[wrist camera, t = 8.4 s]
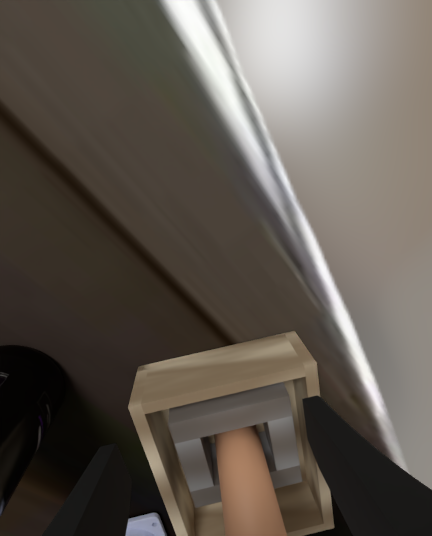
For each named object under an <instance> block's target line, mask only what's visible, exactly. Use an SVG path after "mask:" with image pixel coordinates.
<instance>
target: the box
mask: <svg viewBox="0 0 432 536" xmlns="http://www.w3.org/2000/svg"><path fill="white" fill-rule="evenodd" d="M317 395H318V396H320V390H319V380H318V371H317V363H316V361H315V360H314V359H313V357H312V356H311V354H310V353H309V351H308V350H307V348H306V347H305V345H304V344H303V343H302V341H301V340H300V338H299V337H298V335H297V334H296V332H295V331H291V332H287V333H282V334H278V335H274V336H269V337H265V338H261V339H256V340H252V341H247V342H243V343H239V344H234V345H230V346H226V347H221V348H217V349H213V350H208V351H204V352H200V353H195V354H191V355H187V356H182V357H178V358H174V359H169V360H165V361H161V362H156V363H152V364H148V365H143V366H139V367H138V370H137V374H136V378H135V382H134V386H133V390H132V394H131V398H130V402H129V406H128V408H129V411H130V414H131V416H132V419H133V422H134V424H135V427H136V430H137V432H138V435H139V437H140V440H141V443H142V445H143V448H144V451H145V453H146V456H147V459H148V461H149V464H150V467H151V469H152V472H153V475H154V477H155V480H156V482H157V485H158V488H159V490H160V493H161V496H162V498H163V501H164V504H165V506H166V509H167V512H168V514H169V517H170V520H171V522H172V525H173V527H174V530H175V533H176V535H177V536H225V527H224V518H223V509H222V500H221V491H220V482H219V473H218V464H217V455H216V446H215V438H214V434H218V433H223V432H227V431H231V430H235V429H239V428H244V427H248V426H252V425H256V427H257V430H258V434H259V437H260V441H261V444H262V448H263V451H264V455H265V459H266V462H267V466H268V469H269V473H270V476H271V480H272V483H273V487H274V491H275V494H276V498H277V501H278V505H279V508H280V512H281V515H282V519H283V522H284V526H285V530H286V533H287V536H304V535H308V534H312V533H316V532H320V531H324V530H328V529H332V528H334V521H333V512H332V502H331V493H330V489H329V487H328V485H327V483H326V481H325V479H324V477H323V475H322V473H321V471H320V469H319V467H318V465H317V462H316V460H315V457H314V455H313V452H312V449H311V447H310V444H309V442H308V439H307V432H306V424H305V417H304V409H303V402H302V399H304V398H308V397H312V396H317Z"/></svg>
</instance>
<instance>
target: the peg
mask: <svg viewBox="0 0 432 536" xmlns="http://www.w3.org/2000/svg"><path fill="white" fill-rule="evenodd" d="M214 438H215V446H216V455H217V464H218V473H219V482H220V491H221V500H222V509H223V518H224V527H225V536H287V533H286V530H285V526H284V522H283V519H282V515H281V512H280V508H279V505H278V501H277V498H276V494H275V491H274V487H273V483H272V480H271V476H270V473H269V469H268V466H267V462H266V459H265V455H264V451H263V448H262V444H261V441H260V437H259V434H258V430H257V427H256V425H252V426H248V427H244V428H239V429H235V430H231V431H227V432H223V433H218V434H214Z"/></svg>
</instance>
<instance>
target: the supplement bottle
mask: <svg viewBox="0 0 432 536" xmlns="http://www.w3.org/2000/svg"><path fill="white" fill-rule="evenodd" d="M64 396H65V381H64V377H63V375H62V373H61V371H60V369H59V368H58V366H57V365H56V364H55V363H54V362H53V361H52V360H51V359H50V358H49V357H47V356H46V355H45V354H43V353H41V352H39V351H37V350H35V349H32V348H29V347H24V346H18V345H5V346H0V516H1V515H2V513H3V511H4V509H5V507H6V506H7V504H8V502H9V500H10V498H11V497H12V495H13V493H14V491H15V489H16V487H17V486H18V484H19V482H20V480H21V478H22V477H23V475H24V473H25V471H26V469H27V467H28V466H29V464H30V462H31V460H32V458H33V456H34V455H35V453H36V451H37V449H38V447H39V446H40V444H41V442H42V440H43V438H44V436H45V435H46V433H47V431H48V429H49V427H50V425H51V424H52V422H53V420H54V418H55V416H56V414H57V412H58V410H59V409H60V407H61V405H62V402H63V400H64Z"/></svg>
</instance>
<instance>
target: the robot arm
mask: <svg viewBox="0 0 432 536" xmlns="http://www.w3.org/2000/svg"><path fill="white" fill-rule="evenodd" d="M302 402H303V409H304V417H305V424H306V432H307V439H308V442H309V444H310V447H311V449H312V452H313V455H314V457H315V460H316V462H317V465H318V467H319V469H320V471H321V473H322V475H323V477H324V479H325V481H326V483H327V485H328V487H329V489H330V491H331V493H332V495H333V497H334V499H335V501H336V503H337V505H338V507H339V509H340V511H341V513H342V515H343V517H344V519H345V521H346V523H347V525H348V527H349V529H350V530H351V532H352V534H353V536H432V490H431V489H430V488H428V487H427V486H425V485H424V484H422V483H421V482H419V481H418V480H417V479H415V478H414V477H412V476H411V475H410V474H408V473H407V472H406V471H404V470H403V469H402V468H400V467H399V466H398V465H396V464H395V463H394V462H392V461H391V460H390V459H389V458H387V457H386V456H385V455H384V454H382V453H381V452H380V451H379V450H377V449H376V448H375V447H374V446H373V445H371V444H370V443H369V442H368V441H367V440H366V439H364V438H363V437H362V436H361V435H360V434H359V433H358V432H356V431H355V430H354V429H353V428H352V427H351V426H350V425H349V424H348V423H346V422H345V421H344V420H343V419H342V418H341V417H340V416H339V415H338V414H337V413H336V412H335V411H334V410H333V409H332V408H331V407H330V406H329V405H328V404H327V403H326V402H325V401H324V400H323V399H322V398H321V397H320V396H318V395H317V396H312V397H308V398H304V399H302ZM131 489H132V480H131V477H130V475H129V473H128V470H127V468H126V465H125V463H124V461H123V458H122V456H121V453H120V451H119V449H118V446H117V444H116V443H114V444H110V445H106V446H102V447H100V448H99V449H98V451H97V452H96V454H95V456H94V457H93V459H92V460H91V462H90V463H89V465H88V467H87V468H86V470H85V471H84V473H83V475H82V476H81V478H80V479H79V481H78V482H77V484H76V486H75V487H74V489H73V490H72V492H71V493H70V495H69V496H68V498H67V499H66V501H65V502H64V504H63V505H62V507H61V509H60V510H59V512H58V513H57V515H56V516H55V518H54V519H53V520H52V522H51V523H50V525H49V526H48V528H47V529H46V530H45V532H44V533H43V535H42V536H167V534H166V532H165V529H164V526H163V524H162V521H161V519H160V516H159V515H158V514H157V513H150V514H145V515H141V516H137V517H133V518H129V512H130V501H131Z"/></svg>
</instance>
